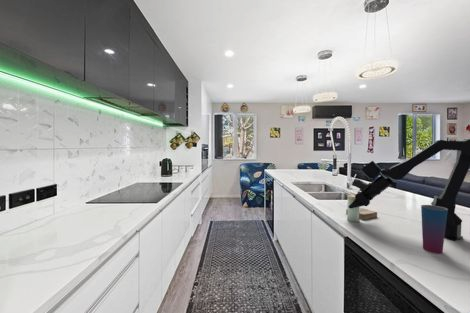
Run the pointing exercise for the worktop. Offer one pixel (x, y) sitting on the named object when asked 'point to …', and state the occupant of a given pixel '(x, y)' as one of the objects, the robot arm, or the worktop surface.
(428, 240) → the cup
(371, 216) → the base
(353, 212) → the cream-capped mint cylinder
